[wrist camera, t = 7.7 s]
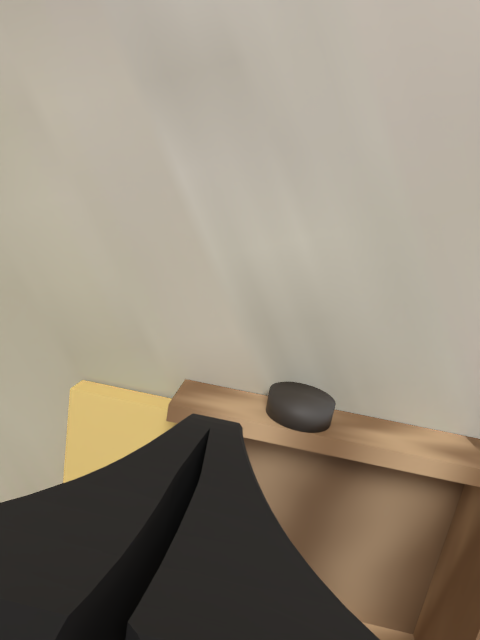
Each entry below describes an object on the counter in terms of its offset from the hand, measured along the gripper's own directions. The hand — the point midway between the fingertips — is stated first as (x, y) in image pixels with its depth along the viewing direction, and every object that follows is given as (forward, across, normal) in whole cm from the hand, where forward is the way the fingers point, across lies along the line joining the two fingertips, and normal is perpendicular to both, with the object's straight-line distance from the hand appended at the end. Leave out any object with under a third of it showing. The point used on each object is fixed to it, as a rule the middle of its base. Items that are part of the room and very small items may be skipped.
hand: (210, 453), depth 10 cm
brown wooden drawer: (+9, -5, +8) cm, 13 cm away
